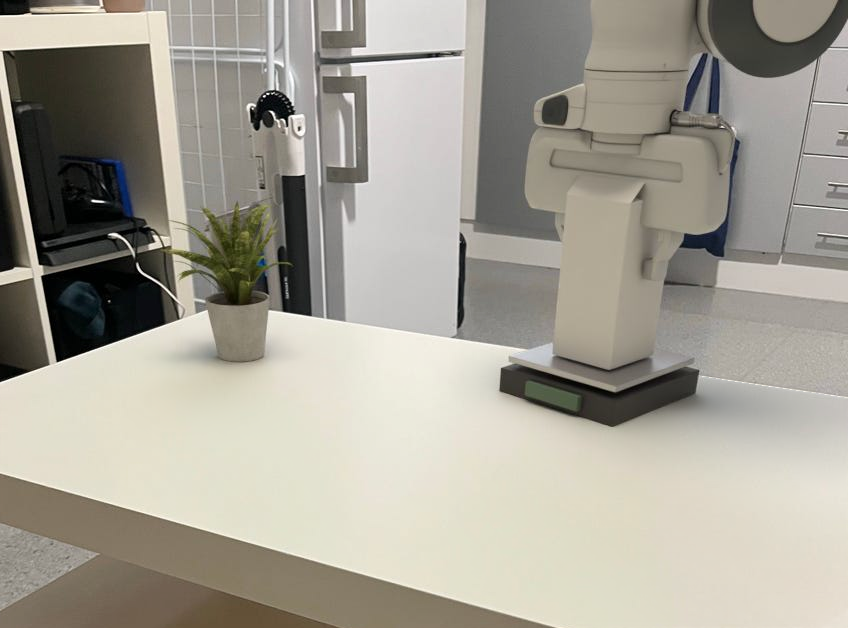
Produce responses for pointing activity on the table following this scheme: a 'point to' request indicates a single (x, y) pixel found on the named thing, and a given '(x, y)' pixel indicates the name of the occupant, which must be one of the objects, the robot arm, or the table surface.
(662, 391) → the scale
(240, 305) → the house plant
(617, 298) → the milk carton
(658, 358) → the scale platform
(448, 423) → the table surface
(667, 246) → the robot arm
